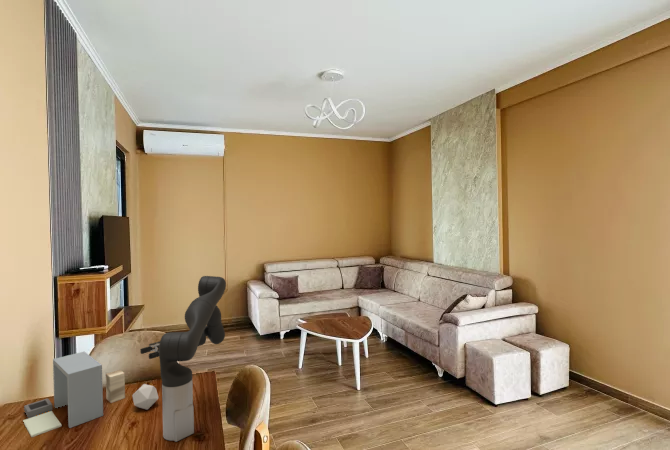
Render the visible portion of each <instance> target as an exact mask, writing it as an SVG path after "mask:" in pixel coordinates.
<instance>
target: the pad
mask: <svg viewBox="0 0 670 450" xmlns="http://www.w3.org/2000/svg"><path fill="white" fill-rule="evenodd" d="M22 422H24V423H23V424H24V426H25V428H26V430H27V432H28V434H29V435H30V437H31V438H34V437H36V436H38V435H42V434H44V433H47V432H50V431H52V430H56V429H58V428H61V427H62V423H61V422H60V421H59V419H58V418H57V417H56V415H55V414H54V412H53V411H49V412H46V413H43V414H40V415H37V416H34V417H31V418H26V419H23V420H22Z"/></svg>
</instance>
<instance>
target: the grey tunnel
mask: <svg viewBox="0 0 670 450" xmlns="http://www.w3.org/2000/svg"><path fill="white" fill-rule="evenodd" d="M52 371H53V373H52V374H53V375H52V376H53V379H52V380H53V408H54V407H55V408H57V409H58V407H60V408H62V406H63V407H66V406H67V416H68V417H67V418H68V419H67V421H68V422H67V423H68V424H67V426H68V428H69V429H72V428H73V427H74V428H75V427H77V426H79V425H81V424H84V423H87V422H90V421H92V420H95V419H97V418H100V417H104V402H103V400H104V397H103V395H104V394H103V393H104V391H103V387H104V386H103V364H101V363H100V362H99V361H97V360H96V359H95V358H93V357H92V356H91V355H90V354H88V353H87V352H85V351H81V352H80V351H79V352H77V353H72V354H68V355H65V356H60V357H55V358H52ZM65 405H66V406H65ZM55 408H54V409H55Z"/></svg>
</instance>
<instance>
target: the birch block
mask: <svg viewBox="0 0 670 450" xmlns="http://www.w3.org/2000/svg"><path fill="white" fill-rule="evenodd" d="M125 376H126V375H125V372H123V370H121V369H117V370H114V371H111V372H107V373H105V390H106V392H105V394H106V396H105V397H106V398H105V399H106V400H107V401H108V402H109V403H110V404H112V403H115V402H118V401H121V400H123V399H126V386H125V385H126V384H125V381H126V380H125V379H126V378H125Z"/></svg>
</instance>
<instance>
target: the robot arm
mask: <svg viewBox="0 0 670 450" xmlns="http://www.w3.org/2000/svg"><path fill="white" fill-rule="evenodd" d="M197 284H198V285H197V292H198V297H196V298H194V299H193V300H192V301H191V302H190V303H189V306H188V307H187V308H186V309H185V310H186V311H185V312H184V321H185V324H186V325H187V327H188V329H189V330H188V331H174V332H173V331H171V332H166V333H163V335H162V336H161V338H160V340H159V341H157V342H152V343H149V344H148V345H149V346H146V347H141V348H140V350H139V351H140V354H141V355H143V354H148V359H149V360H152V359H156V358H159V367H160V368H159V369H160V378H161V395H162V396H161V399H162V401H161V402H162V437H163V438H164V440H167V441H174V442H178V441H181V440H183V439H185V438H186V437H189V436H191V435H193V434H195V417H194V416H195V414H194V411H195V410H194V402H193V401H194V399H193V396H194V395H193V394H194V393H193V392H194V391H193V390H194V389H193V371H192V369H191V368H190V367H187V366H186V365H183V364H180V363H179V362H187V361H190V360H192V359H193V358H194V356H195V354H196V352H197V350H198V348H199V347H200V346H203V345H205V344H206V342H207V338H208V339H209V341H210V343H212V344H213V345H219V344H221V343H222V342H224V340H225V336H226V331H225V328H224V325H223V322H222V320H223V319H222V313H221V309H220V308H219V307H218V303H219V301H220V300H221V299H222V297H223V295H224V294H225V292H226V287H227V283H226V279H225V278H223V277H221V276H214V275H213V276H211V275H202V276H201V277H200V278H199V281H198V283H197ZM150 352H151V353H150Z"/></svg>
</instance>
